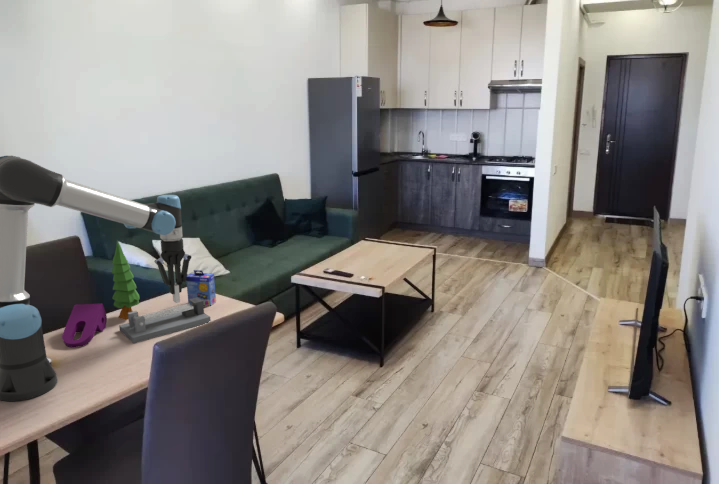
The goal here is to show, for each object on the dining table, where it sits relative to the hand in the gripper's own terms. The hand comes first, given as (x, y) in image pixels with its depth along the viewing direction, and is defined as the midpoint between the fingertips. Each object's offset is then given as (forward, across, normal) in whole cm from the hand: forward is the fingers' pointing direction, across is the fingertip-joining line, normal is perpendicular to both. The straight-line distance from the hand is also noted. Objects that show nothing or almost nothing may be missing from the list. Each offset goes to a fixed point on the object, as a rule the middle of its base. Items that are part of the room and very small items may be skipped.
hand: (176, 301), depth 197 cm
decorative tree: (+9, -12, +18) cm, 23 cm away
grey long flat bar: (+4, -5, 0) cm, 7 cm away
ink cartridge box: (+8, +16, +13) cm, 22 cm away
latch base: (+8, -4, 0) cm, 10 cm away
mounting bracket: (+9, -30, +10) cm, 32 cm away
